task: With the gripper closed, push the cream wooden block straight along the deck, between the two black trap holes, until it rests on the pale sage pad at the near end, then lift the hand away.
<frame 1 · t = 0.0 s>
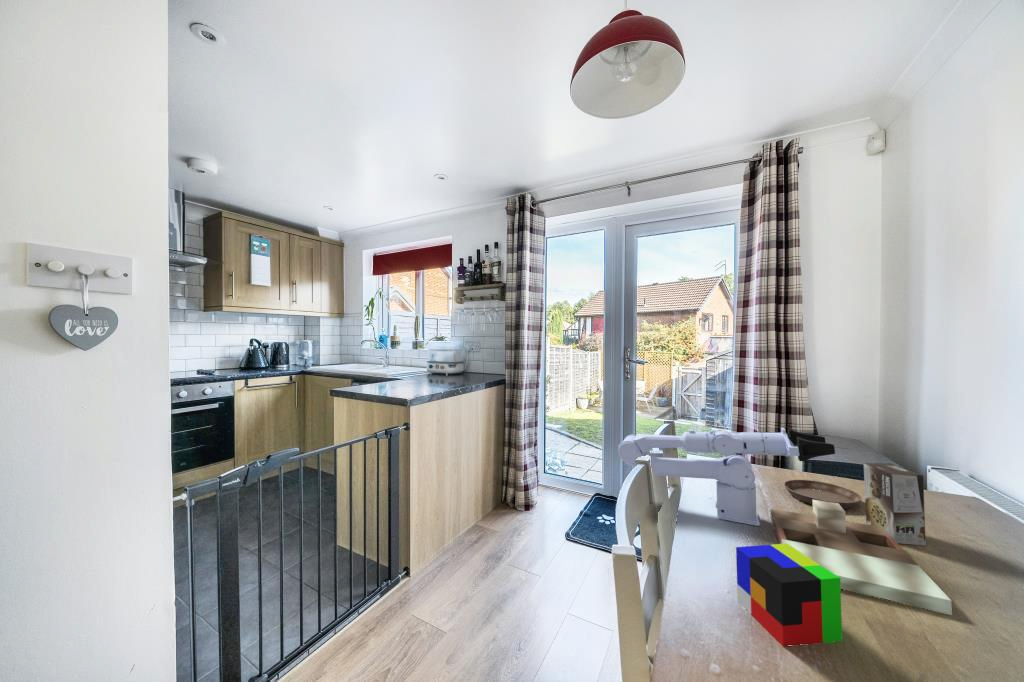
hand: (829, 445, 89), 22 cm above the table, tool horizontal, fingers open, 7 cm apart
plant saucer: (821, 500, 108), on the table
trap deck: (841, 555, 79), on the table
block: (828, 526, 87), point 2 cm above the table, touching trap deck
coffee box: (894, 535, 87), on the table
puzzle toy: (786, 621, 61), on the table
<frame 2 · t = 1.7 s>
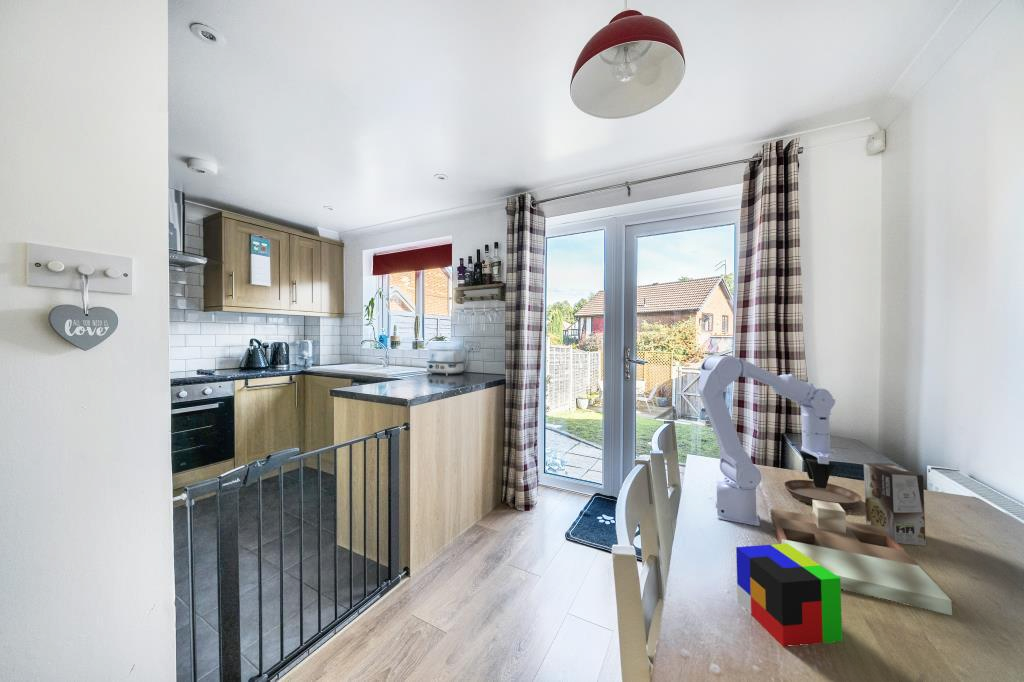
hand: (817, 483, 96), 9 cm above the table, tool pointing down, fingers open, 6 cm apart
nothing on the table moved.
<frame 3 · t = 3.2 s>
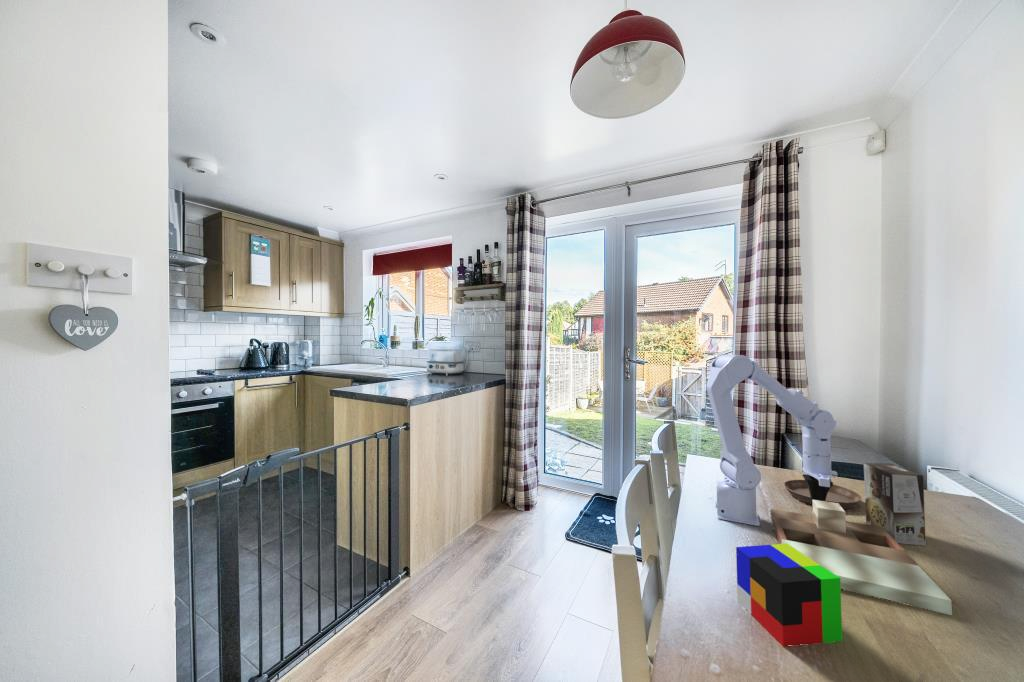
hand: (818, 504, 96), 4 cm above the table, tool pointing down, fingers closed
nothing on the table moved.
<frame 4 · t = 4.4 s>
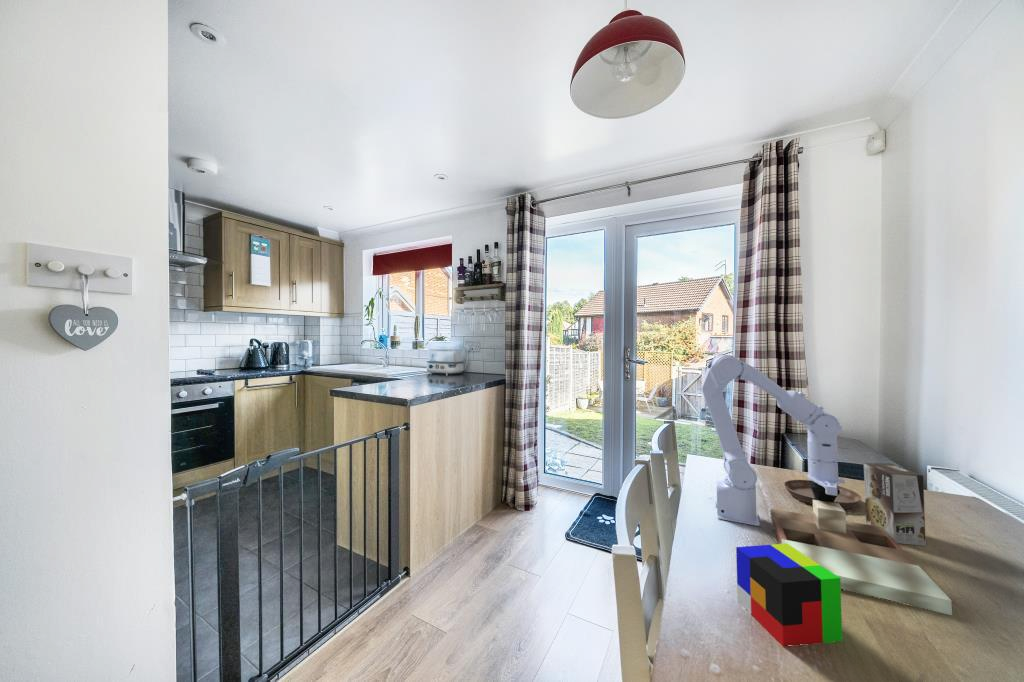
hand: (824, 513, 91), 4 cm above the table, tool pointing down, fingers closed
block: (829, 526, 87), point 3 cm above the table, touching gripper
everything else where it was.
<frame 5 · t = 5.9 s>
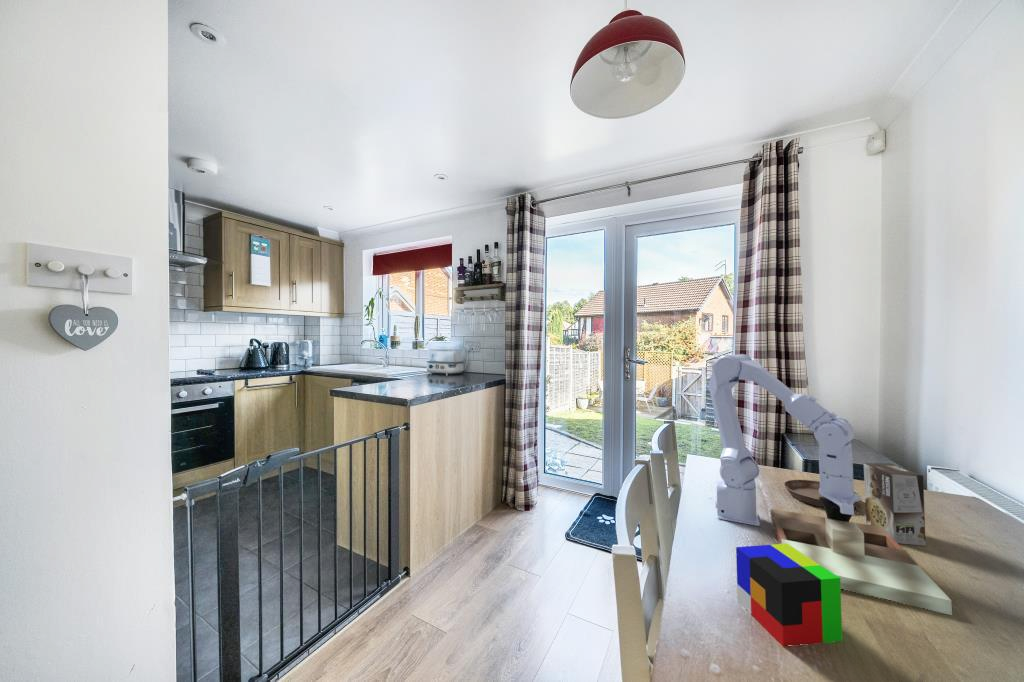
hand: (837, 533, 81), 4 cm above the table, tool pointing down, fingers closed
block: (844, 549, 77), point 3 cm above the table, touching gripper, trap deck
everything else where it was.
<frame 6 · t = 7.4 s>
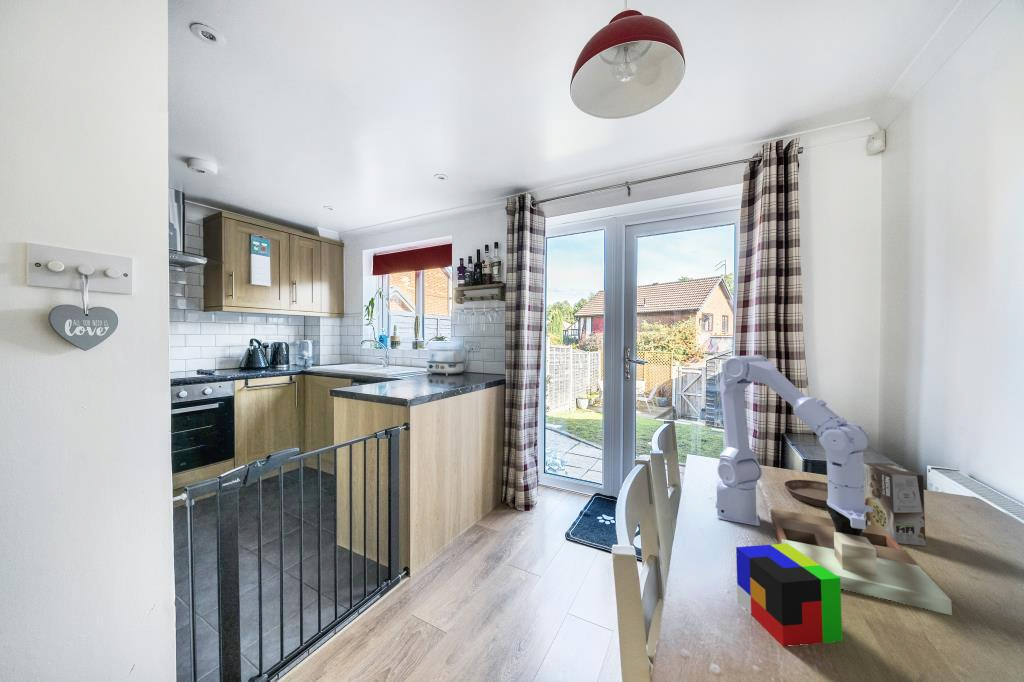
hand: (847, 548, 75), 4 cm above the table, tool pointing down, fingers closed
block: (854, 565, 72), point 2 cm above the table, touching gripper, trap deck
everything else where it was.
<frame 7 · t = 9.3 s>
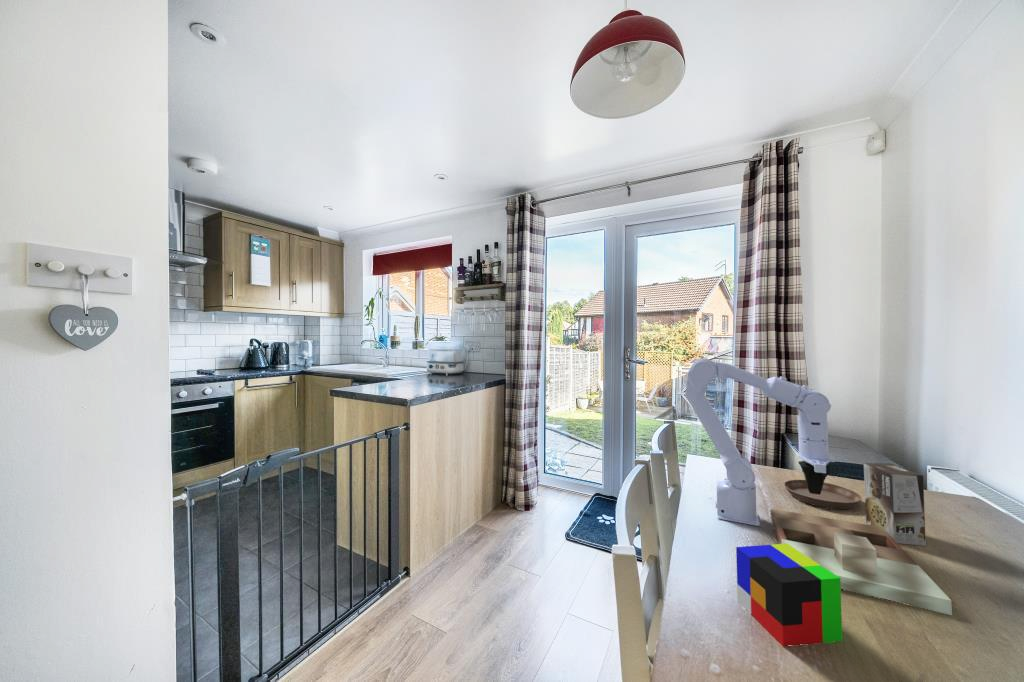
hand: (814, 493, 90), 9 cm above the table, tool pointing down, fingers closed
block: (854, 565, 72), point 2 cm above the table, touching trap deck
everything else where it was.
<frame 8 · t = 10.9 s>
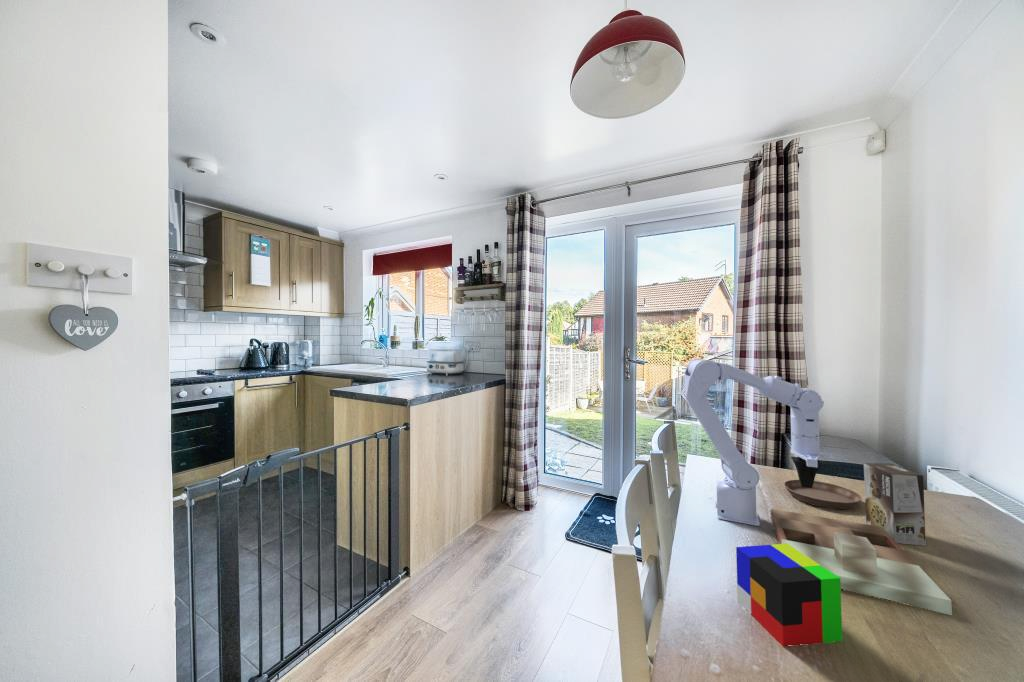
hand: (806, 486, 94), 9 cm above the table, tool pointing down, fingers closed
nothing on the table moved.
at the end: block inside the target area (0.5 cm from its centre), point 2.5 cm above the table; block tilted 0° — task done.
